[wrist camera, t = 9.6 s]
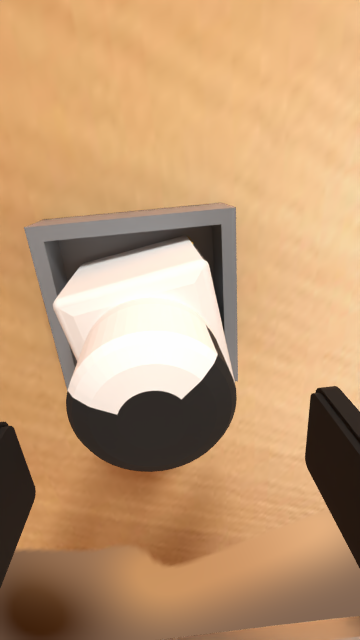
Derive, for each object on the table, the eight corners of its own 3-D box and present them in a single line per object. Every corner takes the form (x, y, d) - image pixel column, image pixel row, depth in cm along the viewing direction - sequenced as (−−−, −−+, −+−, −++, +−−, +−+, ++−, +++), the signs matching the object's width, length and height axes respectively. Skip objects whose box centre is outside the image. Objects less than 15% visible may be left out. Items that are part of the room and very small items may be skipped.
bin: (226, 355, 25) (237, 381, 22) (80, 372, 25) (70, 402, 21) (221, 202, 21) (235, 207, 18) (43, 219, 20) (24, 227, 17)
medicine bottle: (212, 331, 23) (270, 467, 12) (115, 358, 23) (89, 516, 13) (188, 233, 20) (237, 296, 10) (78, 263, 21) (2, 361, 10)
